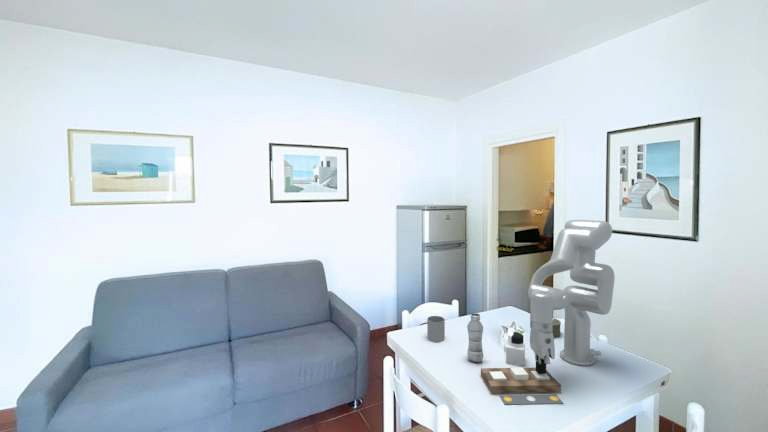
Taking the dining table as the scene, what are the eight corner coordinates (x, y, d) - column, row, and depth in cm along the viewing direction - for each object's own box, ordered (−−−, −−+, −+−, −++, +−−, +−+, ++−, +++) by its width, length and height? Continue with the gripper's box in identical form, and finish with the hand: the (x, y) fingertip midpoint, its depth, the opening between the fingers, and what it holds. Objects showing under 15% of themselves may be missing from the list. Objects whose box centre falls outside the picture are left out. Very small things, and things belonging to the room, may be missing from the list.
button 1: (501, 378, 122) (501, 371, 122) (506, 386, 117) (506, 378, 117) (489, 379, 122) (489, 371, 122) (493, 386, 117) (493, 378, 117)
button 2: (543, 378, 122) (543, 370, 122) (549, 385, 117) (550, 377, 117) (530, 378, 122) (530, 370, 122) (536, 385, 117) (537, 377, 117)
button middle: (522, 375, 122) (522, 367, 122) (528, 382, 117) (528, 374, 117) (509, 375, 122) (510, 367, 122) (515, 382, 117) (515, 374, 117)
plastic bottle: (484, 364, 134) (484, 318, 133) (467, 363, 135) (467, 316, 134) (482, 357, 140) (482, 312, 139) (466, 356, 141) (466, 311, 140)
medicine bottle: (524, 358, 138) (525, 331, 138) (524, 366, 132) (524, 338, 131) (507, 355, 141) (507, 329, 141) (505, 363, 135) (506, 335, 134)
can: (529, 332, 165) (529, 319, 165) (541, 327, 172) (541, 314, 172) (553, 340, 156) (553, 327, 155) (564, 334, 163) (565, 321, 162)
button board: (543, 374, 126) (543, 367, 126) (561, 393, 114) (561, 385, 114) (480, 375, 125) (480, 368, 125) (491, 394, 113) (491, 386, 113)
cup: (447, 337, 160) (447, 318, 160) (440, 343, 153) (440, 323, 153) (431, 333, 165) (431, 314, 164) (424, 339, 158) (424, 320, 157)
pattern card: (555, 395, 113) (555, 393, 113) (563, 403, 108) (563, 402, 108) (499, 396, 112) (499, 394, 112) (504, 404, 108) (504, 403, 108)
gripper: (562, 333, 111) (562, 383, 112) (541, 316, 126) (540, 361, 127) (541, 333, 111) (541, 384, 112) (522, 317, 126) (522, 362, 127)
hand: (540, 372), depth 120 cm, fingers closed
